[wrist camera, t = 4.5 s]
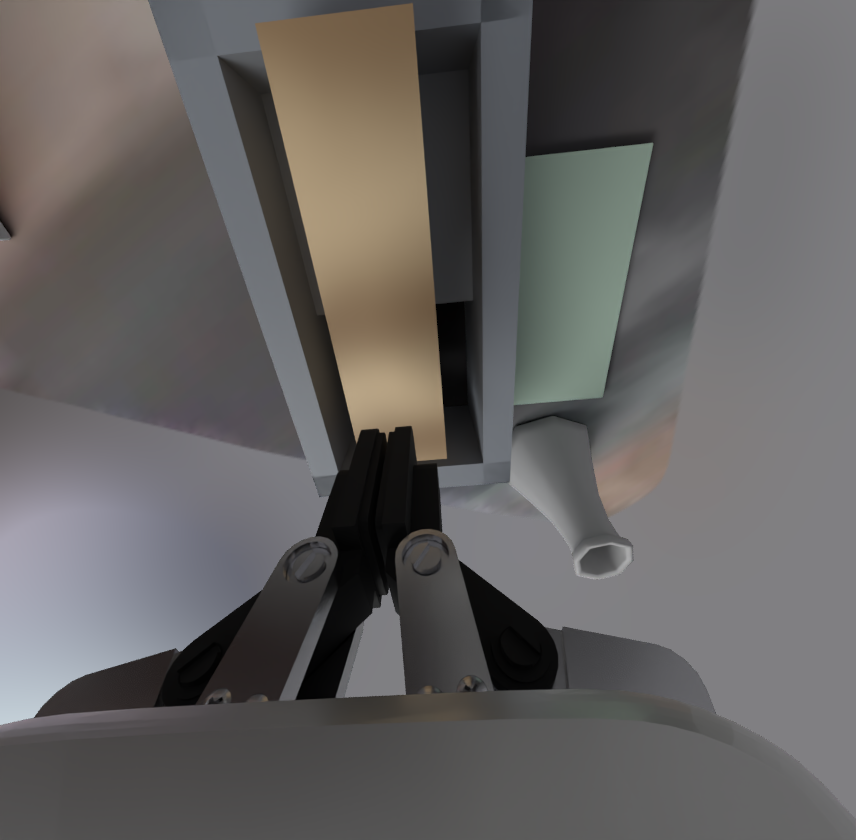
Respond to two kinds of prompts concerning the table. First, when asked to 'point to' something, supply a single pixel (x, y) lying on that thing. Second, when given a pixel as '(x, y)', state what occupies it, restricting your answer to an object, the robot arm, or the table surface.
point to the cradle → (446, 192)
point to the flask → (568, 493)
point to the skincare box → (4, 233)
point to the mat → (574, 268)
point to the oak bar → (364, 206)
